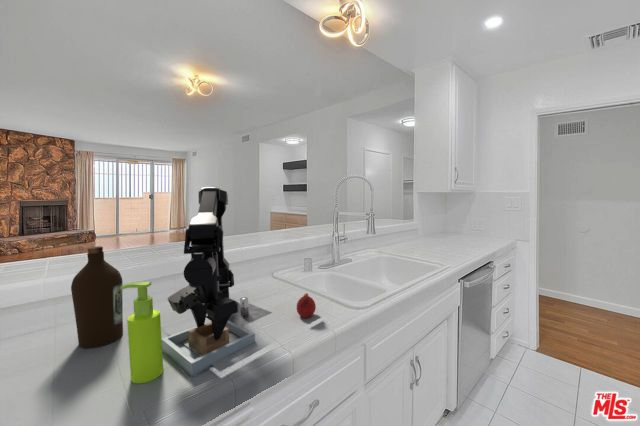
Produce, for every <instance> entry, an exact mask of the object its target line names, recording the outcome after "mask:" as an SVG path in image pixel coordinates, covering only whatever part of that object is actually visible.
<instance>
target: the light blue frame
mask: <svg viewBox="0 0 640 426" xmlns="http://www.w3.org/2000/svg"><path fill="white" fill-rule="evenodd" d="M210 322H211V320H208V321H205V323H204V325H205V324H208V323H210ZM225 327H227V328H228V329H229V333H230V332H231V333H232V334H235V335H236V336H238V337H240V338H237V339H235V340H234V341H231V342H229V343H228V344H226V345H224V346H222V347H219V348H217V349H215V350H213V351H211V352H209V353H207V354H205V355H202V356H200V355H199V353H196V351H194V350H192V349H191V348H190V347H188V346H187V345H185V344H184V343H183V342H184V341H186V340H187V339H188V331H190V330H192V329H195V328H197V325H195V326H192V327H189V328H187V329H185V330H182V331H179V332H176V333H174V334H171V335H168V336H167V337H164V338H162V353H164V354H165V355H166V356H168V357H169V358H170V359H171V360H172V361H173V362H174V363H176V364H177V365H178V366H179V367H180V368H181V369H183V370H184V371H185V372H186V374H188V375H189V376H190V377H191V378H194V377H196V376H198V375H200V374H202V373H204V372H206V371H208V370H209V369H211V368H214V367H215V366H214V365H213V364H214V363H216V362H217V361H219V360H221V359H223V358H225V357H227V356H230V355H231V354H233V353H235V352H237V351H240V350H241V349H243V348H245V347H247V346H250V345H251V344H253V343H255V342H256V334H255V333H254V332H252V331H251V330H248V329H247V328H244V327H243V326H239V325H237V324H235V323H233V322H231V321H229V320H228V322H227V324H226V326H225Z"/></svg>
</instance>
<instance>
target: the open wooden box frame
mask: <svg viewBox="0 0 640 426" xmlns="http://www.w3.org/2000/svg"><path fill="white" fill-rule="evenodd" d="M229 343H230V331H229V329H228V328H227V327H225V328H224V330H223V333H222V335H221V337H220V339H219V340H215V338H214V334H213V328H212V322H210V323H208V324H205V325H203V326H200V327H197V328H195V329H192V330H190V331H188V346H189V348H190V347H191V348H192V349H193V350H195V352H198V354H200V355H202V356H203V355H205V354H207V353H210V352H212V351H214V350H216V349H218V348H220V347H222V346H225V345H227V344H229Z"/></svg>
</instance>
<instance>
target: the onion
mask: <svg viewBox="0 0 640 426" xmlns="http://www.w3.org/2000/svg"><path fill="white" fill-rule="evenodd" d="M296 312H297V314H298V315H299V316H300V317H301V318H304V319H306V318H307V319H308V318H311V317H312V315H314V314H315V312H316V302H315V301H314V299H313V297H311V296H309V293H308V292H305V293H304V294H303V296H301V297H300V298H299V300H298V301H297V303H296Z"/></svg>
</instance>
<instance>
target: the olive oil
mask: <svg viewBox="0 0 640 426" xmlns="http://www.w3.org/2000/svg"><path fill="white" fill-rule="evenodd" d="M103 249H104V247H103V246H102V245H99V246H98V245H97V246H91V247H87V254H86V255H87V263H86V264H85V265H84V266H83V268H81V269H80V271H78V272H77V273H76V274H75V276H74V277H73V278H72V281H71V285H70V289H71V290H70V292H71V296H72V297H71V298H72V305H73V310H74V318H75V325H76V331H77V332H76V333H77V342H78V343H77V344H78V346H79V348H83V349H94V348H99V347H103V346H107V345H109V344H111V343H114V342H115V341H117V340H119V339H120V338H121V337H122V336H123V334H124V324H123V323H124V322H123V320H124V319H123V317H124V316H123V312H124V311H123V289H121V288H120V287H122V286H123V277H122V275H121V272H120V271H119V270H118V269H117V268H115V267H114V266H113V265H111V264H110V263H109V262H107V261H106V260H105V254H104V253H105V251H103Z"/></svg>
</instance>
